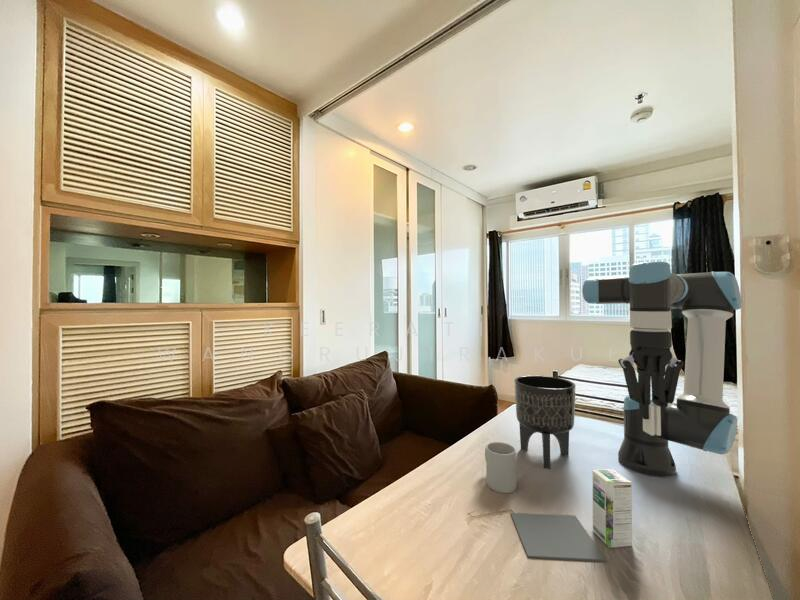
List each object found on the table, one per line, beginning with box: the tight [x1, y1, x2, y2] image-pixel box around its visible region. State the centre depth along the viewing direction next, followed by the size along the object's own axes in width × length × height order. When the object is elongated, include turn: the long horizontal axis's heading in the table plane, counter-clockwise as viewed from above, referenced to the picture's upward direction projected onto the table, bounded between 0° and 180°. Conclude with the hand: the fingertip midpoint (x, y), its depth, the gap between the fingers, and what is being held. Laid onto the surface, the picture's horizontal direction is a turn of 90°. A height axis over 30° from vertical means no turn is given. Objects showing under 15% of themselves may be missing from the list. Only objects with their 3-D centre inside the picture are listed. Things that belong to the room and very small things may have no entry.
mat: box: [510, 512, 607, 563], centre depth 75 cm, size 16×14×1 cm
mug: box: [484, 441, 517, 494], centre depth 97 cm, size 12×8×11 cm
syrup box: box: [592, 468, 633, 549], centre depth 74 cm, size 6×6×14 cm
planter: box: [514, 375, 576, 470], centre depth 113 cm, size 20×20×26 cm
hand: (651, 432), depth 73 cm, fingers closed
